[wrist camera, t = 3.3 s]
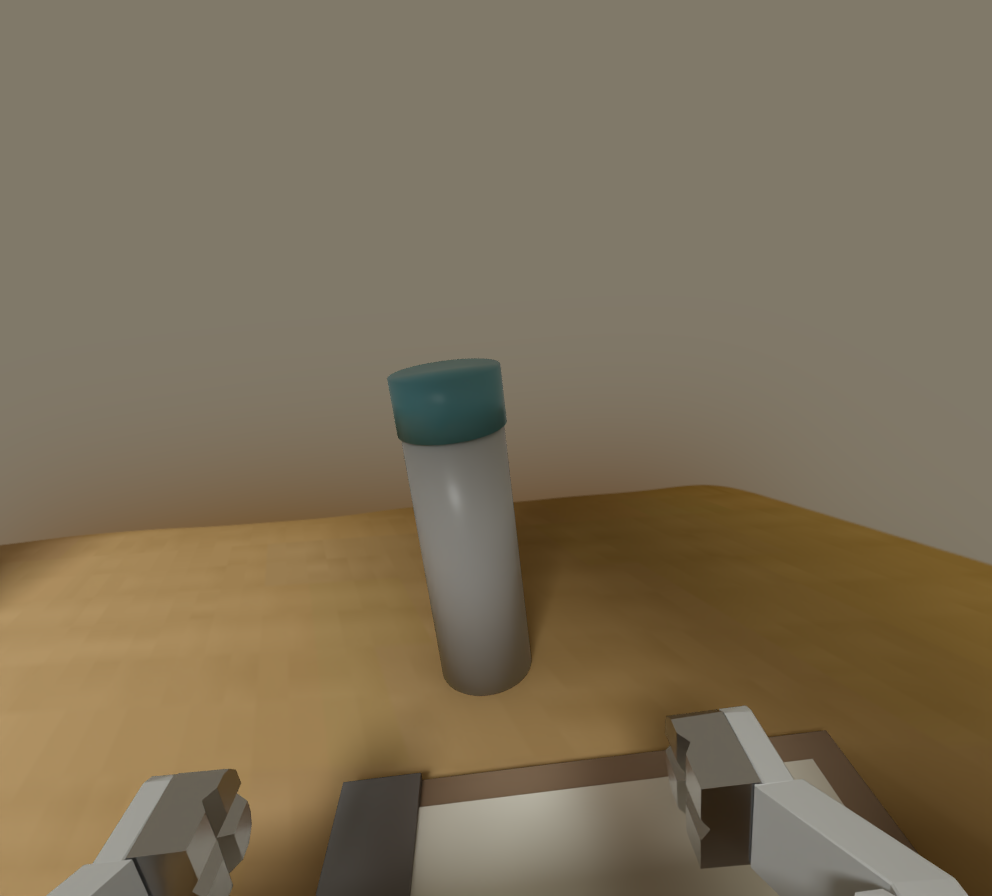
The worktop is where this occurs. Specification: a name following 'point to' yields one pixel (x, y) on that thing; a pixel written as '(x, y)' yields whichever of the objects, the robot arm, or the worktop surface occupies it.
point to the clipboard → (554, 829)
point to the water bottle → (465, 518)
